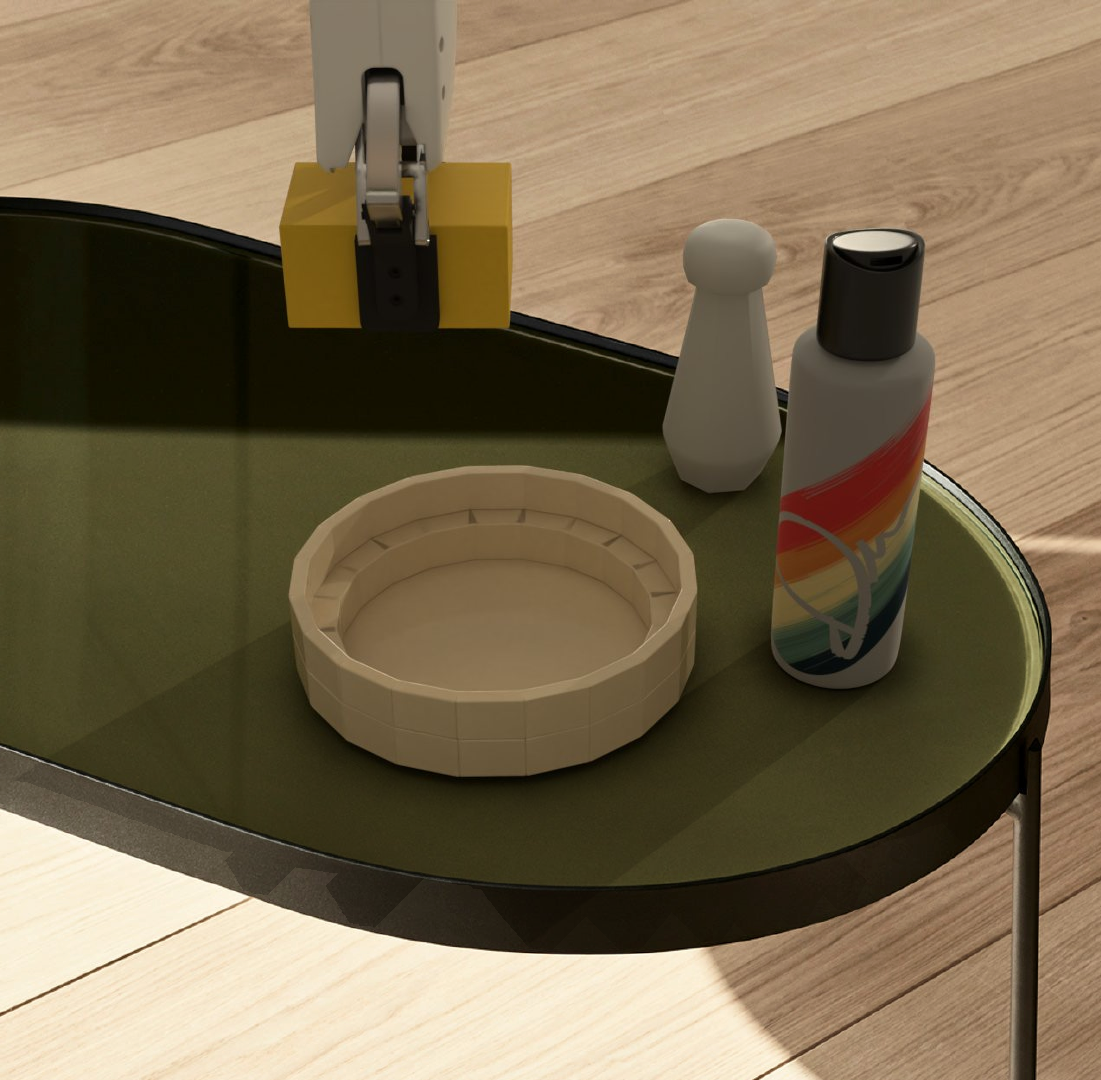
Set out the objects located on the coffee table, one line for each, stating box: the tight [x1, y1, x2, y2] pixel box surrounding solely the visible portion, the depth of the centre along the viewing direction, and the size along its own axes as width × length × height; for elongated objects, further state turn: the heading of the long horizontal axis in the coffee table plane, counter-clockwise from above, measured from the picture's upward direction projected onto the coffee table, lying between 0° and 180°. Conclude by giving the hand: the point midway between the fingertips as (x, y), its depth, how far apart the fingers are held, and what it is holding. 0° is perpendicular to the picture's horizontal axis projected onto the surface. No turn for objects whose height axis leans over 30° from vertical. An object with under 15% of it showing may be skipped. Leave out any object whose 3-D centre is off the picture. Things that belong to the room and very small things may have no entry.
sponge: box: [278, 161, 514, 329], centre depth 82 cm, size 9×6×4 cm, turn 89°
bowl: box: [287, 464, 699, 778], centre depth 87 cm, size 17×17×4 cm
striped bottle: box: [770, 227, 936, 690], centre depth 82 cm, size 6×6×20 cm
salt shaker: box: [662, 218, 783, 494], centre depth 96 cm, size 6×6×13 cm
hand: (405, 285), depth 83 cm, fingers closed on sponge, 6 cm apart
